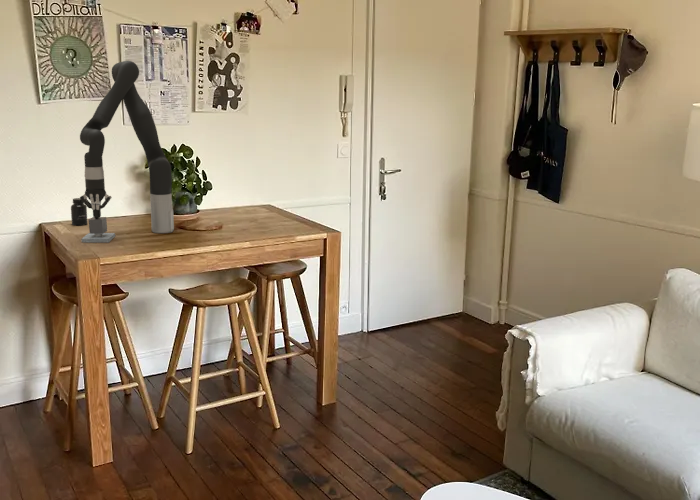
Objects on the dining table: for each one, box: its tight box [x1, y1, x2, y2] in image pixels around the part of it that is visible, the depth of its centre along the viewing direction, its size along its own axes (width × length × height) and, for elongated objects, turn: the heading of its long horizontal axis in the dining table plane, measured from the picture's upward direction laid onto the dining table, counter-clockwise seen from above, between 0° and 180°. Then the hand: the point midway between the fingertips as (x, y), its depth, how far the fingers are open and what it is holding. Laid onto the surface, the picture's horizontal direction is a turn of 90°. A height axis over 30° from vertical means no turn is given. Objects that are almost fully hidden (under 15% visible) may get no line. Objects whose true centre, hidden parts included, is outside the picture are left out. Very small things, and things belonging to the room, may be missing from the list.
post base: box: [80, 232, 116, 244], centre depth 299 cm, size 11×11×8 cm
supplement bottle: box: [70, 197, 88, 227], centre depth 325 cm, size 7×7×12 cm
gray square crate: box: [88, 216, 108, 234], centre depth 298 cm, size 6×6×6 cm
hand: (97, 218), depth 298 cm, fingers closed
